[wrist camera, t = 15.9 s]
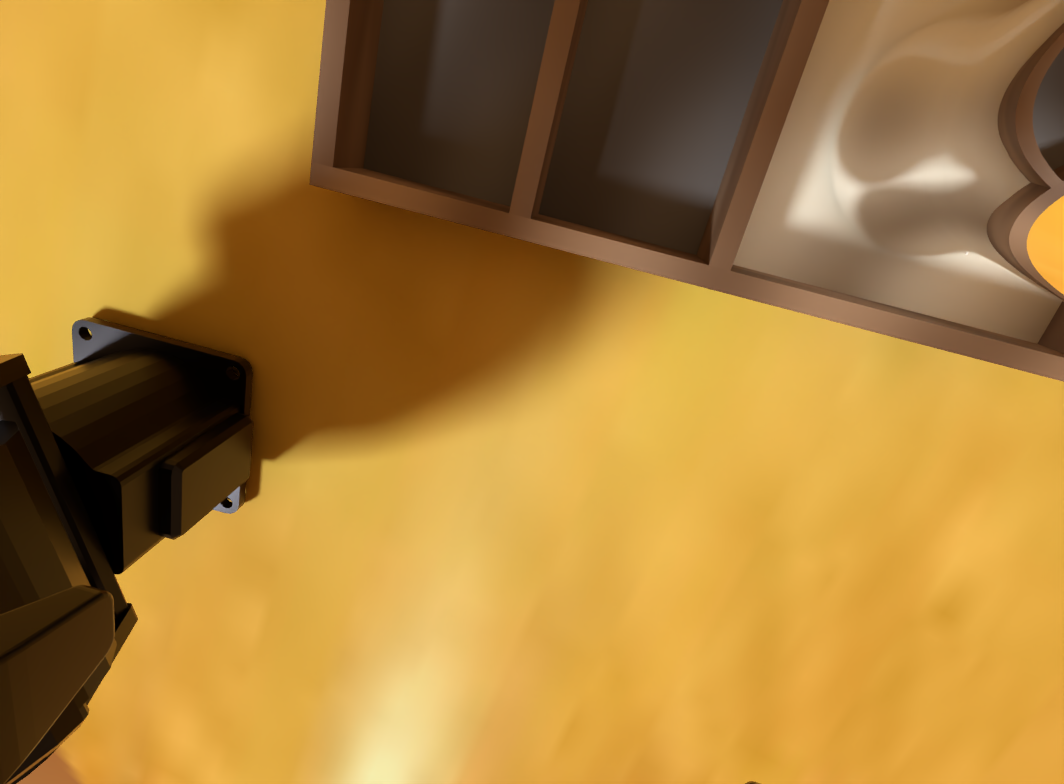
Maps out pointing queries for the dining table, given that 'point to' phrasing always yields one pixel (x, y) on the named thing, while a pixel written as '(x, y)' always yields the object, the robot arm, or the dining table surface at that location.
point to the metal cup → (962, 143)
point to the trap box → (658, 149)
